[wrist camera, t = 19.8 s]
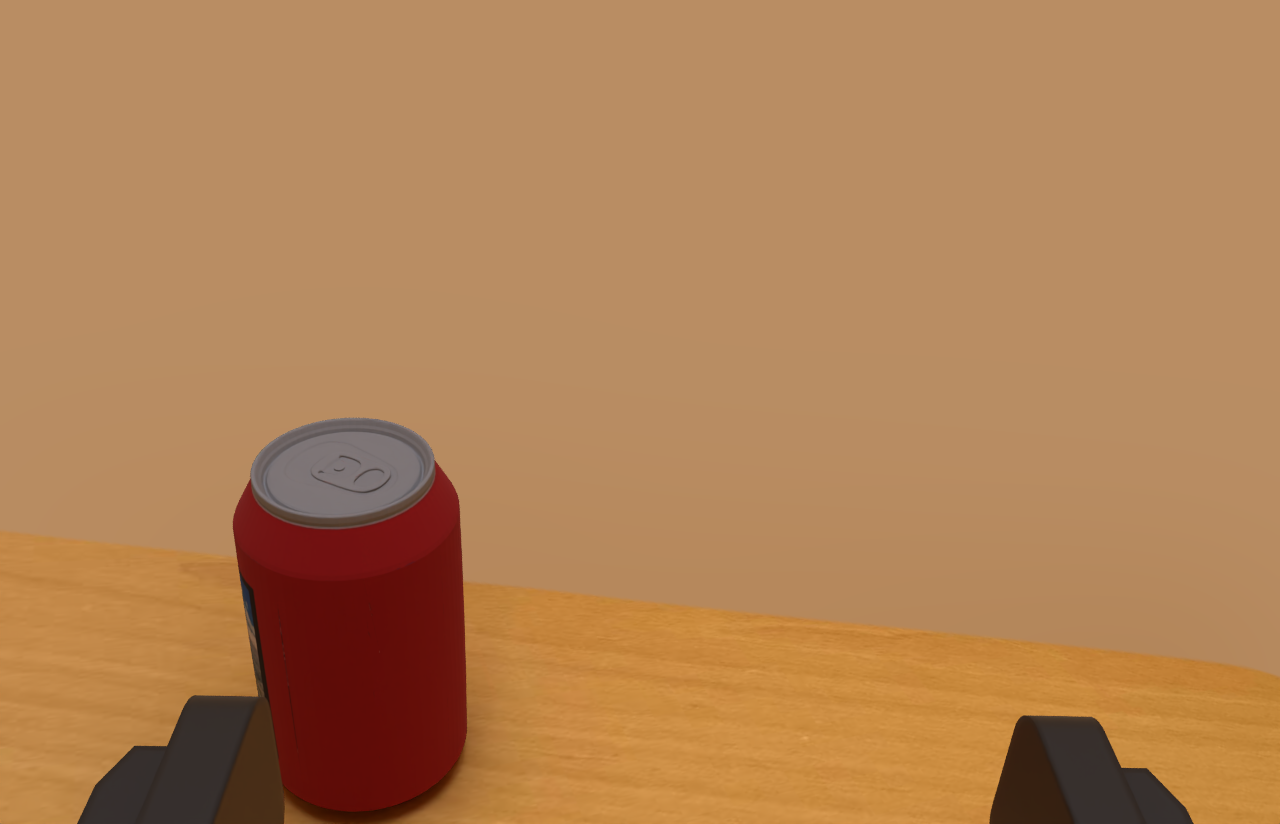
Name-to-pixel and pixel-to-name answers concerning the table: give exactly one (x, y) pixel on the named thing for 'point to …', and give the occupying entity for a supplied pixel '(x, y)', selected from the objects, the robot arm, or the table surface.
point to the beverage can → (355, 610)
